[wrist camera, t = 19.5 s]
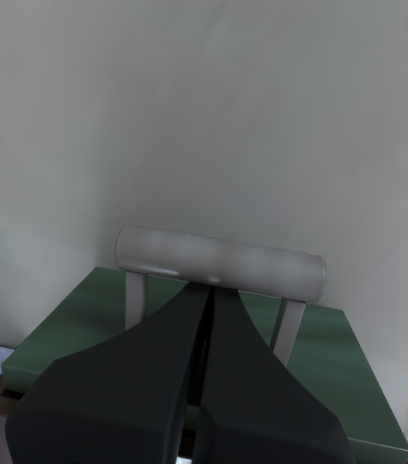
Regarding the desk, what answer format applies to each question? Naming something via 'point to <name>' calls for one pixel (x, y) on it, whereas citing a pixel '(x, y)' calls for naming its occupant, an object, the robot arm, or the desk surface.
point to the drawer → (260, 311)
